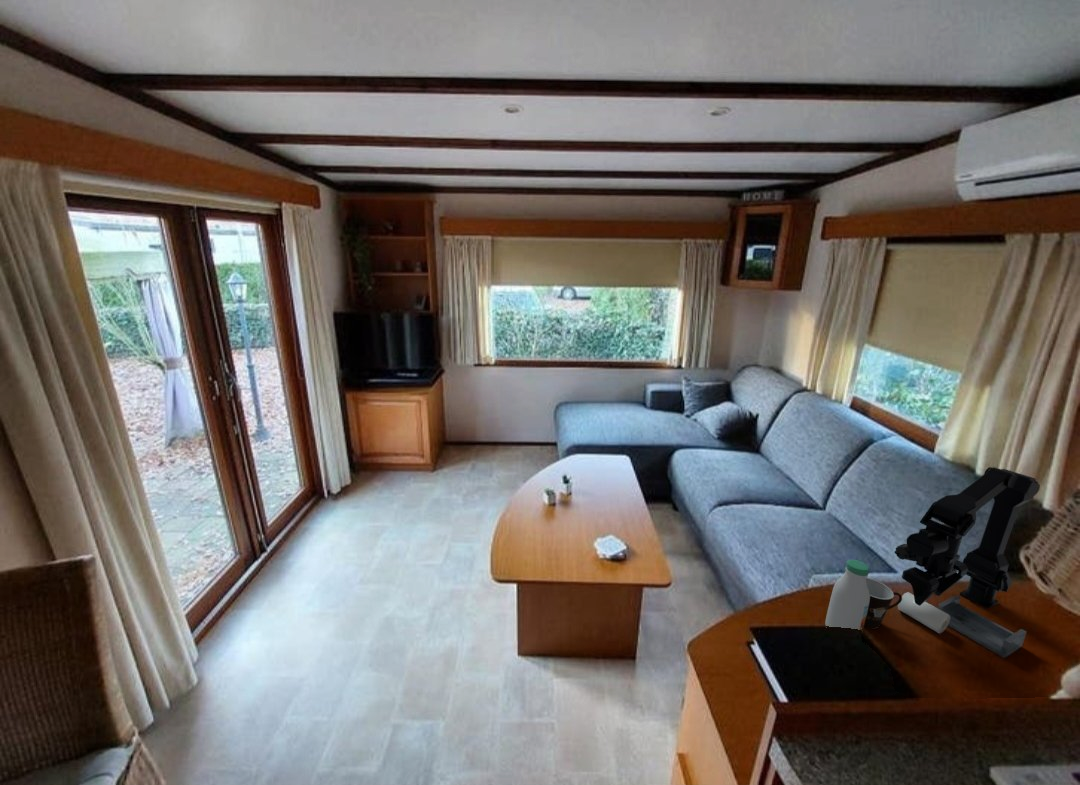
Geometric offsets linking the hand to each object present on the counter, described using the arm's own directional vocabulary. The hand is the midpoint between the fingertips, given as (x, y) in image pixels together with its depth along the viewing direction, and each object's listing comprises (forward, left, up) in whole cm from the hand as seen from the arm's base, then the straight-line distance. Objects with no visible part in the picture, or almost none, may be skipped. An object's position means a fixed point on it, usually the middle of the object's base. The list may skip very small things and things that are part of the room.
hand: (927, 599), depth 114 cm
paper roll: (0, 0, -7) cm, 7 cm away
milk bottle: (+24, -6, -7) cm, 26 cm away
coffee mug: (+13, -5, -7) cm, 16 cm away
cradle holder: (-9, +8, -7) cm, 14 cm away
